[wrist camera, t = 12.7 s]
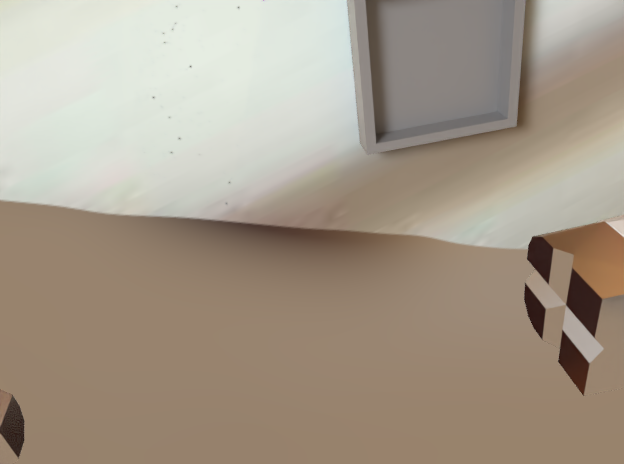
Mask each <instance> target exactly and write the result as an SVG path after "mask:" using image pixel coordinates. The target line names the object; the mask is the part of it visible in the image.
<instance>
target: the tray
mask: <svg viewBox="0 0 624 464" xmlns="http://www.w3.org/2000/svg"><path fill="white" fill-rule="evenodd" d="M525 4H526V0H347V6H348V16H349V27H350V38H351V49H352V60H353V71H354V82H355V92H356V103H357V114H358V125H359V136H360V144H361V145H362V147H363V149H364V150H365V152H366V154H367V155H369V154H374V153H379V152H385V151H390V150H395V149H400V148H406V147H411V146H416V145H421V144H427V143H432V142H437V141H442V140H448V139H453V138H458V137H463V136H469V135H474V134H479V133H484V132H490V131H495V130H500V129H505V128H511V127H516V126H517V114H518V100H519V86H520V73H521V59H522V45H523V31H524V18H525Z"/></svg>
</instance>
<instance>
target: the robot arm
mask: <svg viewBox="0 0 624 464" xmlns="http://www.w3.org/2000/svg"><path fill="white" fill-rule="evenodd" d="M527 260H528V261H529V262H530V263H531V264H532V266H533V267H534V268H535V270H534V271H533V273H532V274H531V275H530V276H529V278H528V279H527V280H526V281H525V291H524V300H525V305H526V309H527V314H528V317H529V319H530V321H531V323H532V325H533V328H534V329H535V330H536V332H537V333H538V335H539V336H540V338H541V339H542V340H543V341H545V342H547V343H549V344H551V345H553V346H555V347H558V348H559V349H560V352H559V360H558V362H559V364H560V365H561V366H562V368H563V369H564V370H565V372H566V373H567V374H568V376H569V377H570V379H571V380H572V381H573V383H574V384H575V385H576V387H577V388H578V389H579V391H580V392H581V393H582V395H583V396H587V395H592V394H597V393H602V392H606V391H612V390H617V389H622V388H624V215H622V216H617V217H613V218H609V219H605V220H601V221H597V222H596V223H592V224H588V225H583V226H578V227H574V228H569V229H565V230H560V231H556V232H551V233H547V234H542V235H538V236H533V237H532V239H531V241H530V243H529V245H528V254H527ZM23 443H24V418H23V415H22V412H21V408H20V406H19V404H18V403H17V401H16V400H15V398H14V396H13V395H12V394H10V393H7V392H5V391H3V390H1V389H0V464H14V463H15V462H16V461H17V460H18V459H19V456H20V453H21V450H22V446H23Z"/></svg>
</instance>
